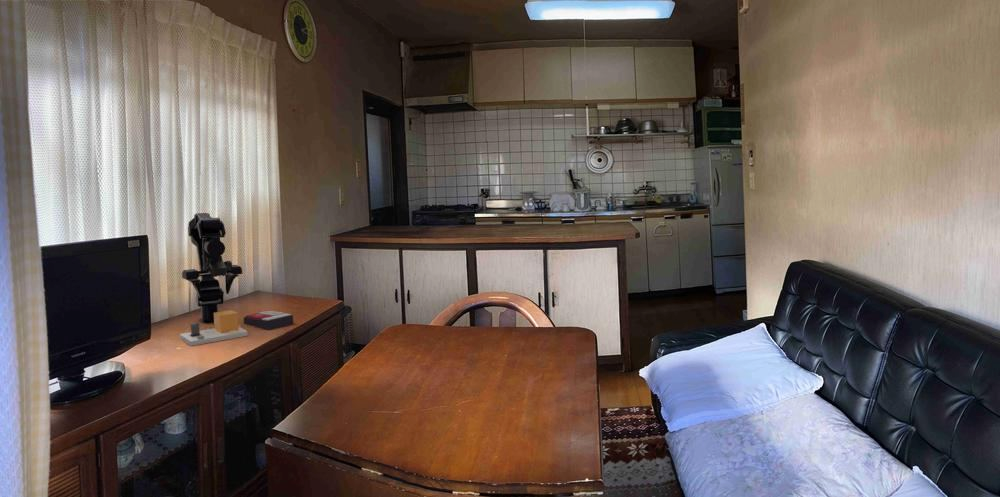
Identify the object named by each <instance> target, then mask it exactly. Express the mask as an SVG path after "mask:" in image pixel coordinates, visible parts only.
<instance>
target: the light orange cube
mask: <svg viewBox="0 0 1000 497" xmlns="http://www.w3.org/2000/svg"><path fill="white" fill-rule="evenodd" d="M213 323H214V328H215V330H216V331H218V332H220V333H224V332H229V331H232V330H239V327H240V326H239V313H238V312H236V311H234V310H233V309H229V310H223V311H218V312H215V313H214V321H213Z"/></svg>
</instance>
